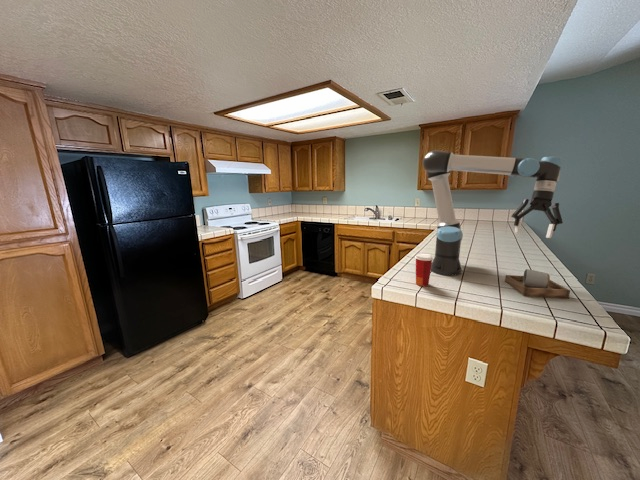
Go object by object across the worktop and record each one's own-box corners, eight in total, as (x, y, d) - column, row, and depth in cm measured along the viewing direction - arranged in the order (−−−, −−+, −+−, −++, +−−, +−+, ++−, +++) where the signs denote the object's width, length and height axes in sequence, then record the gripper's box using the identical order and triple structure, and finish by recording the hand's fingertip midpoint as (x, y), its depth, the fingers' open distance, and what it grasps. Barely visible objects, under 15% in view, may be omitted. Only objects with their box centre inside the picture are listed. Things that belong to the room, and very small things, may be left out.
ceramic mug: (548, 292, 108) (551, 274, 106) (524, 288, 112) (526, 271, 110) (542, 284, 117) (545, 267, 115) (520, 280, 121) (523, 265, 119)
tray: (524, 296, 107) (525, 288, 106) (504, 281, 122) (505, 274, 121) (568, 298, 104) (570, 290, 103) (542, 283, 119) (544, 276, 118)
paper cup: (430, 281, 123) (432, 253, 120) (431, 288, 116) (433, 258, 113) (413, 280, 126) (414, 252, 123) (413, 286, 119) (415, 257, 116)
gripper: (518, 186, 119) (507, 231, 122) (580, 194, 114) (567, 240, 117) (510, 188, 127) (499, 230, 129) (568, 195, 121) (556, 239, 124)
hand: (532, 235), depth 123 cm, fingers open, 13 cm apart
